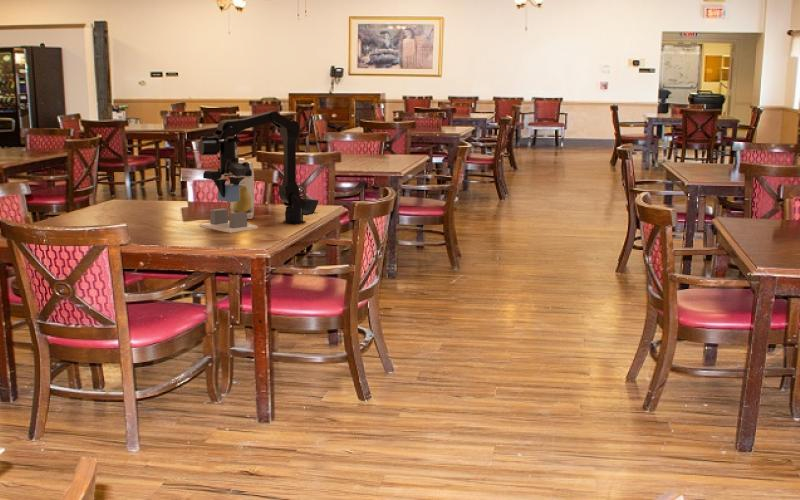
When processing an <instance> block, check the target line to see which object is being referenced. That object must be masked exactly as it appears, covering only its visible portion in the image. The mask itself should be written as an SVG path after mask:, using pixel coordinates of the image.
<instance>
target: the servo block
mask: <svg viewBox="0 0 800 500" xmlns="http://www.w3.org/2000/svg"><path fill="white" fill-rule="evenodd" d="M213 184H214V186H216V184H215V183H213ZM216 187H217V186H216ZM240 187H243V186H242V185H235V184H230V183H228V182H227V183H226V182H225V197H222V196H221V194H220V192H219V190H218V189H217V201H220V202H225V203H230V202H236V201H239V188H240Z"/></svg>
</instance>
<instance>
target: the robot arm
mask: <svg viewBox="0 0 800 500" xmlns="http://www.w3.org/2000/svg"><path fill="white" fill-rule="evenodd" d="M269 123H271V124H272V125H274V126H275V127H276V128H278V130H279V134H280V135H279V136H280V138H281V141H282V143H283V181H282V183H281V184H278V186H277V187H278V193H277V195H278V196H279V199H280V201H282V202H283V204H284V206H285V211H284V214H285V215H284V216H285V218H284V220H283V223H286V224H291V225H292V224H293V225H297V224H301V223H302V224H303V223H306V222H307V221H306V220H304V215H303V208H305V204H306V202H305V201H304V200H303V199H304V198H302V197H301V193H300V188H299V185H298V182H297V179H296V177H297V174H296V173H297V172H296V170H297V162H296V161H297V155H296V154H297V151H296V149H297V147H296V146H297V142H298V140H299V137H300V131H301V127H300V124H299V122H297V120H291V119H289V118H287V117H285V116H284V115H282V114H280V113H278V112H277V111H275V110H267V111H265V112H262V113H261V112H260V113H258V114H254V115H251V116H247V117H244V118H243V117H242V118H239V119H238V118H237V119H223V120H220V121H219V122H218V124H217V126H216V127H217V128H216V129H215V132H214V133H213V134H212V135H211V136H200V140H199V142H198V146H197V148H198V153H199V155H200V156H201V157H202V156H217V155H218V154H219V156H218V157H217V161H219V168H217V170H214V169H211V170H208V169H207V170H204V172H203V175H202V178H203V179H206V180H211V181H213V182H214V184H216V188H217V191H218V190H219V192H220V194H221V196H222V197H225V183H226V182H227V178H225V177H228V178H229V184H235V185H239V183H240V181H241V180H242V179H244V178H245V177H242V176H252V171H251V169H250V166H249V163H248V162H243V163H239V162H238V161H239V158H238V157H236V143H241V142H242V140H241V139H240V138H239V137H238V136H237V135H238V134H240V133H241V132H244V131H245V130H246V129H247V130H248V129H250V128H255V127H257V126H260V125H261V126H262V125H265V124H269ZM229 176H232V177H229Z"/></svg>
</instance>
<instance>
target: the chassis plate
mask: <svg viewBox="0 0 800 500" xmlns="http://www.w3.org/2000/svg"><path fill="white" fill-rule="evenodd" d="M209 212H210V214H209V215H210V219H209V220H210V221H209V222H205V223H199V227H200V228H204V229H210V230H214V231H220V232H224V233H230V234H232V233H238V232H245V231H252V230H257V229H259V227H258V225H255V224H250V223H249V224H248V219H247V213H246V212H236V213H231V212H229V209H228V208H222V207H221V208H217V209H216V208H214V209H210V210H209Z"/></svg>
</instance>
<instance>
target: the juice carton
mask: <svg viewBox="0 0 800 500" xmlns="http://www.w3.org/2000/svg"><path fill="white" fill-rule="evenodd" d="M238 162H239V163H243V162H248V163H249V166H250V169H251V171H252V176H242V177H245V178H244V179H242V180H241V181H240V183H239V185H242V186H243V187H240V188H239V201H236V202H229V211H230V213H236V212H246V213H247V220H252V219H253V218H254V212H255V171H254V164H253V161H251V160H246V158H244V157H243V158H242V157H241V158H240V157H239V158H238ZM229 177H232V176H228V178H229Z"/></svg>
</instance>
